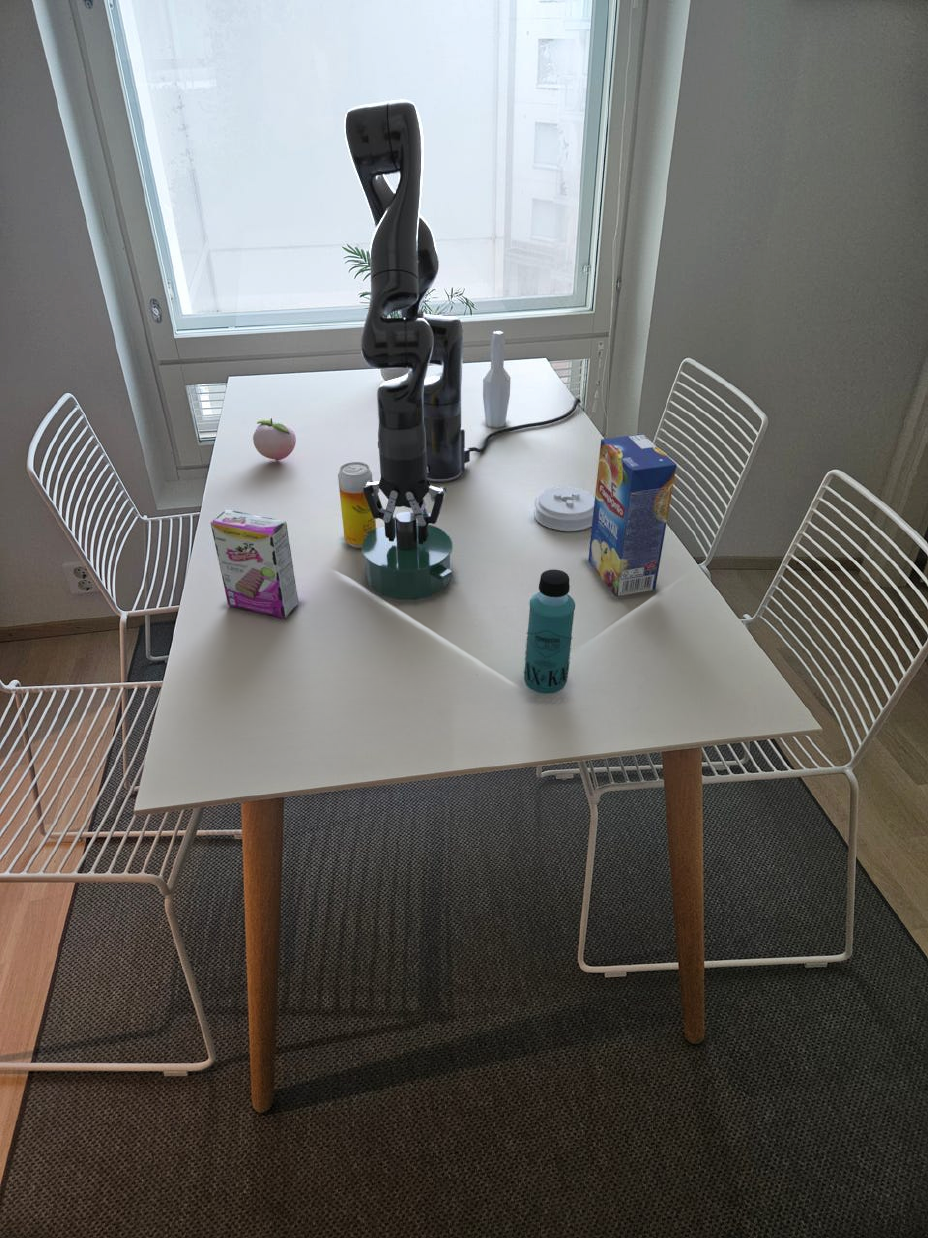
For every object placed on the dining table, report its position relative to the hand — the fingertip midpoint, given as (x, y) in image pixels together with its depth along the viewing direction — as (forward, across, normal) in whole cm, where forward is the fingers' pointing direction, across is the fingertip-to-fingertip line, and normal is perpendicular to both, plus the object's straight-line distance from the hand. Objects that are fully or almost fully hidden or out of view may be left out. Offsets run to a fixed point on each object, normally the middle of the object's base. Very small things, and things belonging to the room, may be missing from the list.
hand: (407, 540), depth 137 cm
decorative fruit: (+8, +40, -40) cm, 57 cm away
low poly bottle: (+8, -5, -70) cm, 70 cm away
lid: (+8, -26, -26) cm, 37 cm away
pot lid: (+2, 0, 0) cm, 2 cm away
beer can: (+8, +12, -11) cm, 18 cm away
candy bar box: (+8, +22, +12) cm, 27 cm away
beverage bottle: (+8, -27, +25) cm, 37 cm away
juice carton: (+8, -37, -7) cm, 38 cm away
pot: (+8, 0, 0) cm, 8 cm away
